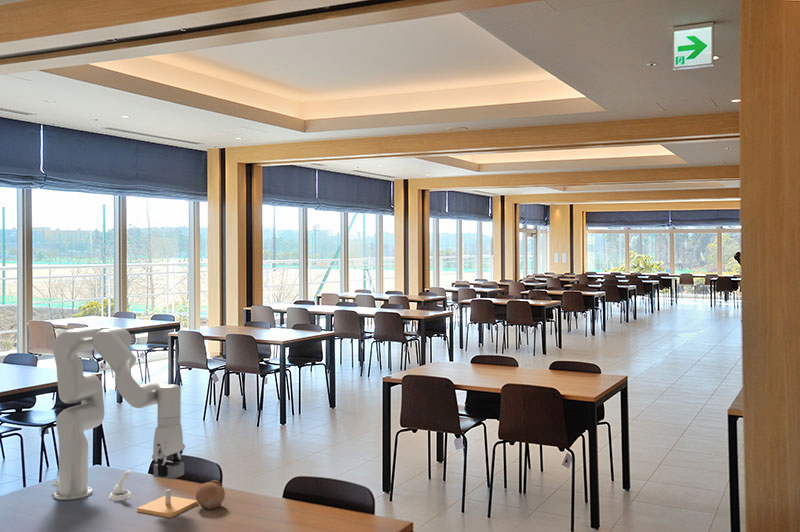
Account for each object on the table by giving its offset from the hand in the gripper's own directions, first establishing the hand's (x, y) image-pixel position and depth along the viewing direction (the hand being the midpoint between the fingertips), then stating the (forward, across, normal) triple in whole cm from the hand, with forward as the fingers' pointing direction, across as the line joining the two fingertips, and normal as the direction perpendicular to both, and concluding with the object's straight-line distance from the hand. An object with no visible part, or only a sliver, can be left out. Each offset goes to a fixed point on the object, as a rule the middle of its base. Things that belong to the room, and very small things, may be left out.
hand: (168, 473), depth 236 cm
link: (+1, 0, 0) cm, 1 cm away
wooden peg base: (+12, 0, 0) cm, 12 cm away
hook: (+12, -2, -23) cm, 26 cm away
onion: (+12, -6, +13) cm, 19 cm away
